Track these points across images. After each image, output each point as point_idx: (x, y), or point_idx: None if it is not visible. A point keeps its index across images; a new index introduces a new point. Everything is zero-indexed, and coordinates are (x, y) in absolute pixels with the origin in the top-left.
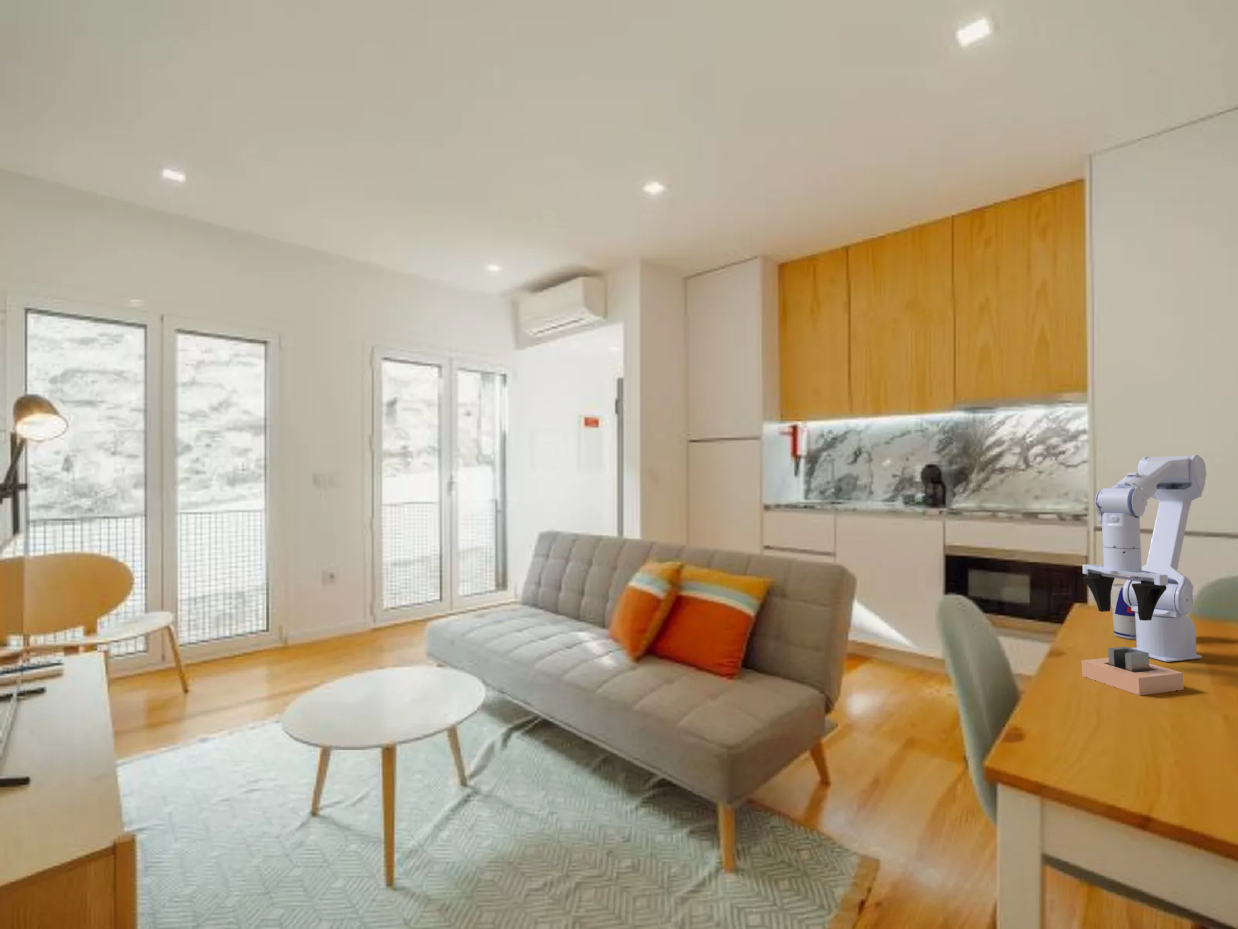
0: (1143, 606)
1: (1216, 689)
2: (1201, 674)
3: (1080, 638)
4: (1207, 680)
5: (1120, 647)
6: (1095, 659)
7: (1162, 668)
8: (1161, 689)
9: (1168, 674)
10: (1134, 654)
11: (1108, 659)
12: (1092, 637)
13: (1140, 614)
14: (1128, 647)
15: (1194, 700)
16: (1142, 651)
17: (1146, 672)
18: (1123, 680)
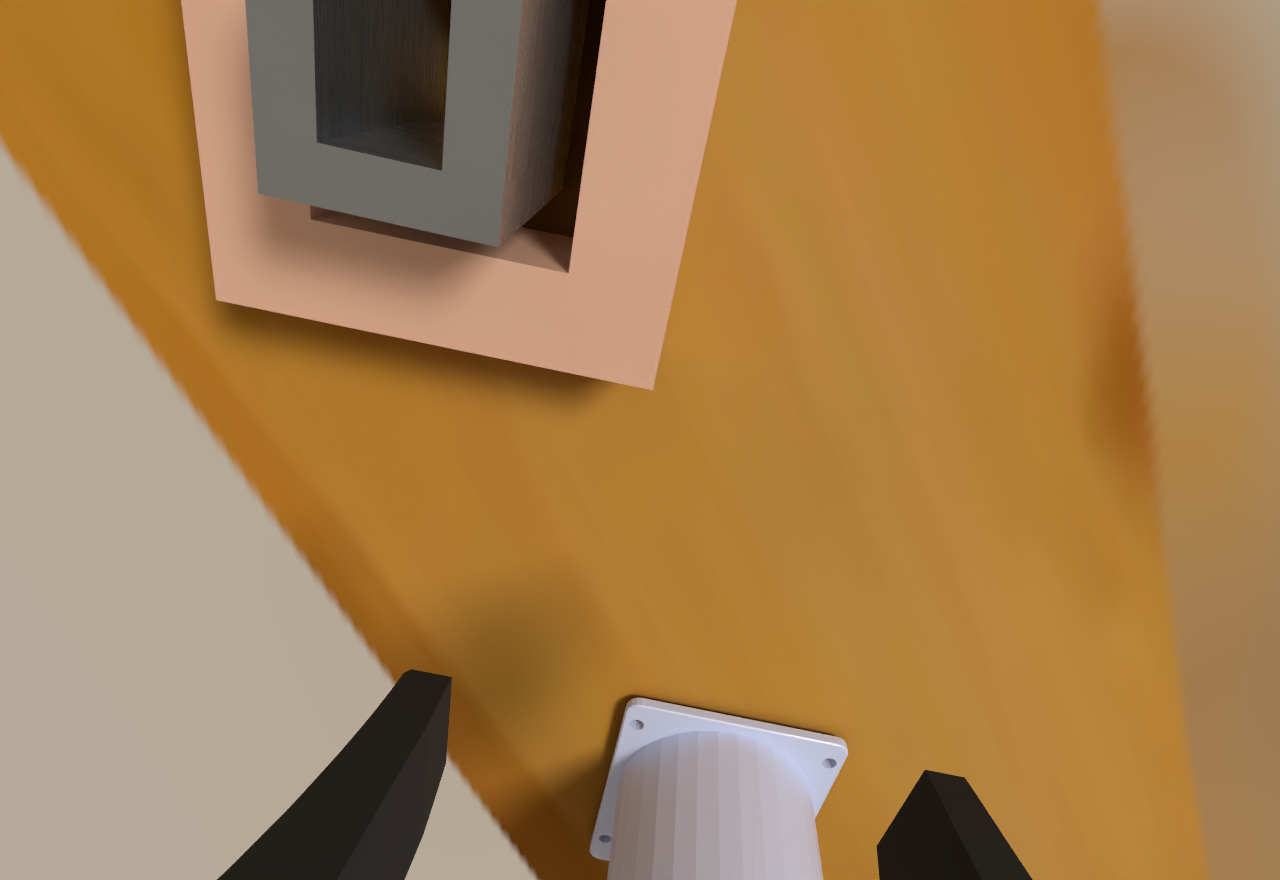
0: (264, 840)
1: (259, 438)
2: (451, 630)
3: (1114, 800)
4: (377, 556)
5: (494, 156)
6: (714, 38)
7: (333, 291)
8: None
9: (198, 145)
10: None
11: (653, 163)
12: (1067, 852)
13: (389, 723)
14: (460, 232)
15: (115, 82)
16: (314, 197)
17: None
18: None
